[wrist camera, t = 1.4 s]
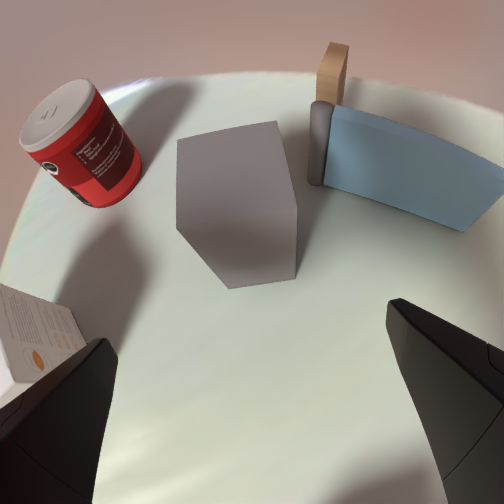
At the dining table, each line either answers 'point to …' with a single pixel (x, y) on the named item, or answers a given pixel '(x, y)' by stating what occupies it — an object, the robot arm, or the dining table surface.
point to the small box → (32, 340)
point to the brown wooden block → (332, 75)
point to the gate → (400, 166)
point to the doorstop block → (238, 204)
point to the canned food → (82, 145)
